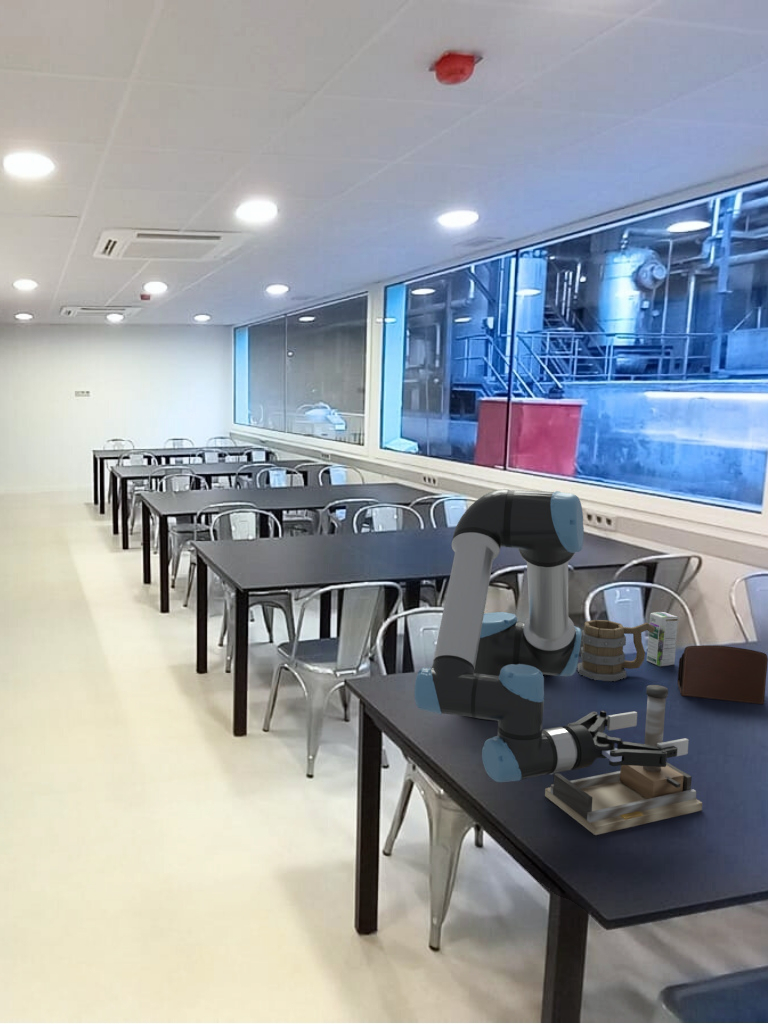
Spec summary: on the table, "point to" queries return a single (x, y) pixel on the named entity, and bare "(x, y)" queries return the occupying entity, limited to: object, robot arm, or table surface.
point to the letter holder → (723, 673)
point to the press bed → (617, 802)
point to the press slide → (648, 777)
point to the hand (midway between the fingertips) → (660, 731)
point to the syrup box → (662, 639)
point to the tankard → (609, 649)
